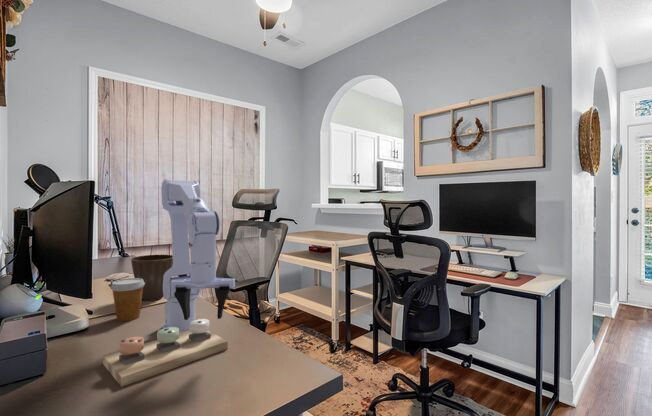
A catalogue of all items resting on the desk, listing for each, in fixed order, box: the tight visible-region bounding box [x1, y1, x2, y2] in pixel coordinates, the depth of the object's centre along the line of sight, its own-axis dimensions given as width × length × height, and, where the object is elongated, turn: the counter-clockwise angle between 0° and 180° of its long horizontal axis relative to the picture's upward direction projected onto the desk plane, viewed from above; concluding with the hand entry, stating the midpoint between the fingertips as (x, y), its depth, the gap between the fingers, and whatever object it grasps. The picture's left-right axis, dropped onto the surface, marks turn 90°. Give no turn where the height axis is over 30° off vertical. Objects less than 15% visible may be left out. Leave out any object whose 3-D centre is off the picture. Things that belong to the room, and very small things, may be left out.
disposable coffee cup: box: [110, 277, 145, 322], centre depth 107 cm, size 10×10×12 cm
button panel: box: [102, 330, 229, 388], centre depth 81 cm, size 14×24×3 cm, turn 137°
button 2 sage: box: [156, 327, 179, 343], centre depth 81 cm, size 5×5×2 cm
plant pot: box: [130, 254, 173, 301], centre depth 130 cm, size 15×15×16 cm
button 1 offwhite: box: [190, 318, 210, 333], centre depth 87 cm, size 5×5×2 cm
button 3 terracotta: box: [118, 336, 145, 355], centre depth 75 cm, size 5×5×2 cm
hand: (203, 317), depth 80 cm, fingers open, 7 cm apart
